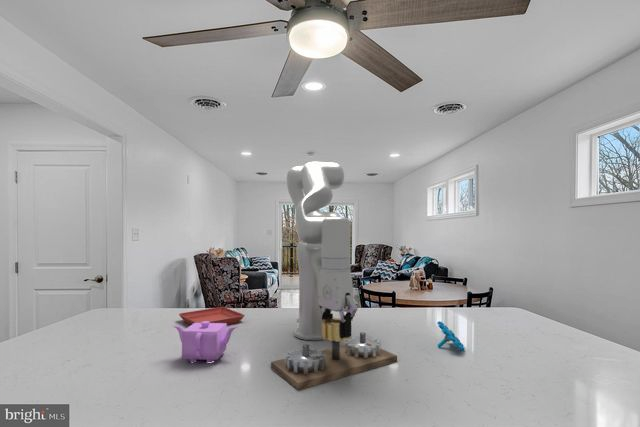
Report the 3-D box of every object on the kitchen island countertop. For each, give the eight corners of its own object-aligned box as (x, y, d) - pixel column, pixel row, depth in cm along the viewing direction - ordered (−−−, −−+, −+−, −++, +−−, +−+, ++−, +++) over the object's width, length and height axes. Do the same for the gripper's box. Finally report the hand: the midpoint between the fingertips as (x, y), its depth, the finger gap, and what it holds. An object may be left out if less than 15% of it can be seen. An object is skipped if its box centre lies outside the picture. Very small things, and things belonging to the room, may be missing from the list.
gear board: (298, 389, 77) (298, 359, 77) (271, 367, 89) (271, 341, 89) (397, 361, 93) (397, 336, 93) (363, 345, 105) (363, 323, 105)
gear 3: (466, 351, 96) (439, 321, 100) (449, 364, 97) (423, 334, 101) (467, 344, 106) (442, 317, 110) (452, 356, 107) (428, 329, 111)
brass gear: (316, 335, 92) (316, 320, 92) (339, 331, 96) (339, 316, 96) (332, 343, 86) (332, 326, 86) (356, 338, 90) (356, 322, 90)
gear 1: (279, 363, 87) (279, 343, 88) (312, 355, 93) (312, 336, 93) (298, 377, 79) (298, 355, 79) (333, 368, 84) (333, 347, 85)
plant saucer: (222, 314, 143) (222, 305, 143) (245, 323, 130) (245, 314, 130) (177, 322, 131) (177, 313, 131) (198, 333, 117) (198, 323, 117)
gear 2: (338, 349, 97) (338, 331, 97) (364, 343, 102) (364, 326, 102) (360, 360, 89) (360, 341, 89) (388, 353, 94) (388, 335, 94)
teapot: (244, 349, 102) (245, 315, 102) (231, 367, 89) (231, 328, 89) (183, 348, 102) (184, 314, 103) (161, 366, 89) (162, 327, 90)
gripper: (306, 262, 97) (306, 327, 96) (344, 268, 82) (344, 345, 81) (329, 261, 101) (329, 323, 100) (368, 266, 86) (369, 339, 85)
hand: (336, 332), depth 91 cm, fingers closed on brass gear, 7 cm apart
